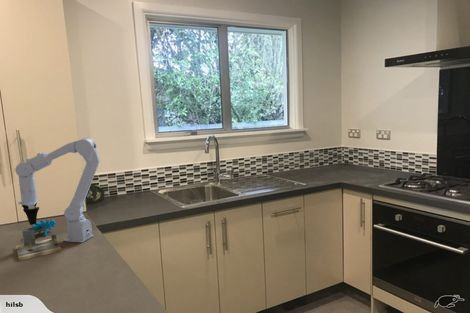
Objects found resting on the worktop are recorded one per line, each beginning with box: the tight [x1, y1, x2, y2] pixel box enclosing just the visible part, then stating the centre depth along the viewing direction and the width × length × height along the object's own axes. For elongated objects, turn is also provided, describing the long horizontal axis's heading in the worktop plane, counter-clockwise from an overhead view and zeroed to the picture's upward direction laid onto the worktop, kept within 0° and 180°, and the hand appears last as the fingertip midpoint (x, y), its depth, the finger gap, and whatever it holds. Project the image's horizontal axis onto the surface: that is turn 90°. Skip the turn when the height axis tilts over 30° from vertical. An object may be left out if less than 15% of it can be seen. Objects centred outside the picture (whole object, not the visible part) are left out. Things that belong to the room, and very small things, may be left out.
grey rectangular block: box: [21, 227, 36, 248], centre depth 142 cm, size 4×7×6 cm, turn 34°
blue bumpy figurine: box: [31, 218, 57, 237], centre depth 161 cm, size 11×6×10 cm
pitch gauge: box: [15, 233, 62, 262], centre depth 143 cm, size 14×15×4 cm
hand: (32, 222), depth 150 cm, fingers open, 7 cm apart
